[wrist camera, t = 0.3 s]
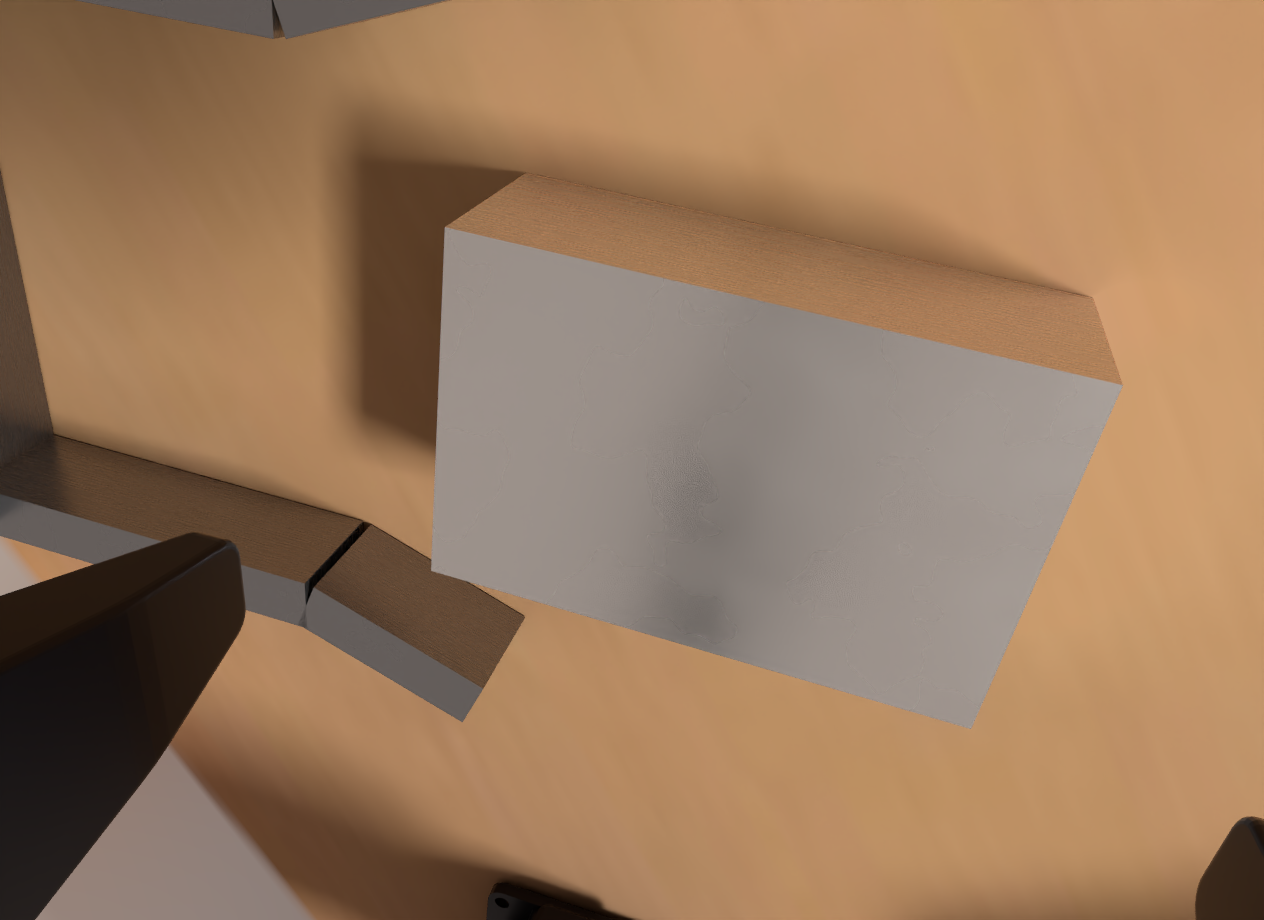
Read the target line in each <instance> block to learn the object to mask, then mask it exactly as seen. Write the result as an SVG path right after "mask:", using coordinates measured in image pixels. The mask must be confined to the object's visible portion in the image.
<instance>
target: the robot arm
mask: <svg viewBox="0 0 1264 920" xmlns="http://www.w3.org/2000/svg"><path fill="white" fill-rule="evenodd" d="M245 611H246V604H245V595H244V586H243V577H242V569H241V560H240V553H239V550H238V548H237V546H236V545H235V543H233V542H232V541H230V540H228V539H225V538H221V537H217V536H213V535H210V534H206V533H202V532H190V533H186V534H183V535H180V536H177V537H174V538H171V539H168V540H165V541H162V542H159V543H156V544H153V545H150V546H147V547H144V548H142V549H139V550H136V551H133V552H130V553H127V554H124V555H121V556H118V557H115V558H112V559H109V560H106V561H103V562H100V563H97V564H94V565H91V566H88V567H85V568H82V569H79V570H76V571H73V572H70V573H67V574H64V575H61V576H58V577H55V578H52V579H49V580H46V581H43V582H40V583H37V584H35V585H32V586H29V587H26V588H23V589H20V590H17V591H14V592H11V593H8V594H5V595H2V596H0V920H35V919H36V918H37V917H38V915H39V914H40V913H41V912H42V910H43V909H44V908H45V906H46V905H47V904H48V903H49V901H50V900H51V899H52V897H53V896H54V895H55V894H56V892H57V891H58V890H59V888H60V887H61V886H62V885H63V883H64V882H65V880H66V879H67V878H68V877H69V876H70V874H71V873H72V872H73V870H74V869H75V868H76V867H77V865H78V864H79V863H80V862H81V860H82V859H83V858H84V856H85V855H86V854H87V853H88V851H89V850H90V849H91V847H92V846H93V845H94V844H95V842H96V841H97V840H98V838H99V837H100V836H101V835H102V833H103V832H104V831H105V829H106V828H107V827H108V826H109V824H110V823H111V822H112V821H113V819H114V818H115V817H116V815H117V814H118V813H119V812H120V810H121V809H122V808H123V806H124V805H125V804H126V803H127V801H128V800H129V799H130V797H131V796H132V795H133V794H134V792H135V791H136V790H137V788H138V787H139V786H140V785H141V783H142V782H143V781H144V779H145V778H146V777H147V775H148V774H149V772H150V771H151V770H152V768H153V767H154V766H155V764H156V763H157V762H158V760H159V759H160V757H161V756H162V754H163V752H164V751H165V750H166V748H167V747H168V745H169V744H170V742H171V741H172V739H173V738H174V736H175V734H176V733H177V731H178V730H179V728H180V726H181V725H182V723H183V722H184V720H185V718H186V717H187V715H188V714H189V712H190V710H191V709H192V707H193V706H194V704H195V702H196V701H197V699H198V698H199V696H200V695H201V693H202V691H203V690H204V688H205V687H206V685H207V683H208V682H209V680H210V679H211V677H212V675H213V674H214V672H215V671H216V669H217V667H218V666H219V664H220V663H221V661H222V659H223V658H224V656H225V655H226V653H227V651H228V650H229V648H230V647H231V645H232V644H233V642H234V640H235V639H236V637H237V636H238V634H239V632H240V630H241V627H242V625H243V622H244V618H245ZM1195 915H1196V920H1264V819H1261V818H1258V817H1244V818H1242V819H1240V820H1239V821H1237V822H1236V824H1235V825H1234V826H1233V827H1232V829H1231V831H1230V832H1229V834H1228V835H1227V837H1226V839H1225V840H1224V842H1223V843H1222V845H1221V847H1220V848H1219V850H1218V852H1217V853H1216V855H1215V856H1214V858H1213V860H1212V861H1211V863H1210V865H1209V866H1208V868H1207V869H1206V871H1205V873H1204V874H1203V876H1202V878H1201V880H1200V882H1199V885H1198V888H1197V893H1196V901H1195ZM486 920H614V919H611V918H608V917H605V916H602V915H599V914H596V913H593V912H590V911H587V910H584V909H581V908H578V907H575V906H572V905H569V904H566V903H563V902H560V901H557V900H554V899H551V898H548V897H545V896H542V895H539V894H536V893H534V892H531V891H528V890H525V889H522V888H519V887H516V886H513V885H510V884H506V883H497V884H495V885H494V887H493V889H492V891H491V893H490V895H489V898H488V907H487V919H486Z"/></svg>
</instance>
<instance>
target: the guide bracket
mask: <svg viewBox="0 0 1264 920" xmlns="http://www.w3.org/2000/svg"><path fill="white" fill-rule="evenodd" d="M77 1H82V2H87V3H92V4H98V5H103V6H108V7H113V8H118V9H123V10H128V11H134V12H139V13H144V14H149V15H154V16H159V17H164V18H169V19H175V20H180V21H185V22H190V23H195V24H200V25H205V26H211V27H216V28H221V29H226V30H231V31H236V32H241V33H246V34H252V35H257V36H262V37H267V38H272V39H275V38H280V37H284V36H285V38H286V39H288V38H292V37H297V36H301V35H305V34H310V33H314V32H319V31H323V30H327V29H332V28H336V27H340V26H345V25H349V24H354V23H358V22H362V21H367V20H371V19H375V18H379V17H383V16H387V15H391V14H396V13H400V12H404V11H408V10H412V9H416V8H421V7H425V6H429V5H433V4H437V3H441V2H445V1H450V0H77ZM190 532H202V533H206V534H210V535H213V536H217V537H221V538H225V539H228V540H230V541H232V542H233V543H235V545H236V546H237V548H238V550H239V553H240V560H241V569H242V577H243V586H244V595H245V604H246V610H248V611H251V612H255V613H258V614H261V615H265V616H268V617H271V618H275V619H278V620H281V621H285V622H288V623H291V624H294V625H298V626H301V627H304V628H305V629H307V630H309V631H310V632H312V633H314V634H315V635H317V636H319V637H321V638H322V639H324V640H326V641H327V642H329V643H331V644H332V645H334V646H336V647H337V648H339V649H341V650H342V651H344V652H346V653H347V654H349V655H351V656H352V657H354V658H356V659H357V660H359V661H361V662H362V663H364V664H366V665H367V666H369V667H371V668H372V669H374V670H376V671H377V672H379V673H381V674H382V675H384V676H386V677H388V678H389V679H391V680H393V681H394V682H396V683H398V684H399V685H401V686H403V687H404V688H406V689H408V690H409V691H411V692H413V693H414V694H416V695H418V696H419V697H421V698H423V699H424V700H426V701H428V702H429V703H431V704H433V705H434V706H436V707H438V708H439V709H441V710H443V711H444V712H446V713H448V714H450V715H451V716H453V717H455V718H456V719H458V720H460V721H461V722H463V720H464V719H465V717H466V716H467V714H468V712H469V711H470V709H471V708H472V706H473V704H474V703H475V701H476V699H477V698H478V696H479V695H480V693H481V691H482V690H483V688H484V686H485V685H486V683H487V681H488V680H489V678H490V676H491V675H492V673H493V671H494V669H495V668H496V666H497V664H498V663H499V661H500V659H501V658H502V656H503V654H504V652H505V651H506V649H507V647H508V646H509V644H510V642H511V640H512V639H513V637H514V635H515V634H516V632H517V630H518V629H519V627H520V625H521V623H522V622H523V620H524V618H525V617H524V616H523V615H521V614H519V613H518V612H516V611H514V610H513V609H511V608H509V607H508V606H506V605H504V604H503V603H501V602H499V601H498V600H496V599H494V598H493V597H491V596H489V595H488V594H486V593H484V592H483V591H481V590H479V589H478V588H476V587H474V586H473V585H471V584H469V583H468V582H466V581H464V580H461V579H457V578H454V577H451V576H447V575H444V574H440V573H437V572H434V571H431V560H429V559H428V558H426V557H424V556H423V555H421V554H419V553H418V552H416V551H414V550H413V549H411V548H409V547H408V546H406V545H404V544H403V543H401V542H399V541H398V540H396V539H394V538H393V537H391V536H389V535H388V534H386V533H384V532H383V531H381V530H379V529H378V528H376V527H374V526H373V525H370V526H369V527H368V529H367V530H366V531H365V532H364V533H363V521H361V520H357V519H354V518H350V517H346V516H343V515H339V514H336V513H332V512H328V511H325V510H321V509H318V508H314V507H311V506H307V505H303V504H300V503H296V502H293V501H289V500H285V499H282V498H278V497H275V496H271V495H268V494H264V493H260V492H257V491H253V490H250V489H246V488H242V487H239V486H235V485H232V484H228V483H225V482H221V481H217V480H214V479H210V478H207V477H203V476H199V475H196V474H192V473H189V472H185V471H182V470H178V469H174V468H171V467H167V466H164V465H160V464H156V463H153V462H149V461H146V460H142V459H139V458H135V457H131V456H128V455H124V454H121V453H117V452H113V451H110V450H106V449H103V448H99V447H96V446H92V445H88V444H85V443H81V442H78V441H74V440H70V439H67V438H63V437H60V436H56V435H54V433H53V428H52V423H51V418H50V413H49V408H48V403H47V398H46V393H45V388H44V384H43V379H42V374H41V369H40V364H39V359H38V354H37V349H36V344H35V339H34V334H33V329H32V324H31V319H30V315H29V310H28V305H27V300H26V295H25V290H24V285H23V280H22V275H21V270H20V265H19V260H18V255H17V250H16V246H15V241H14V236H13V231H12V226H11V221H10V216H9V211H8V206H7V201H6V196H5V191H4V186H3V181H2V176H1V172H0V536H3V537H6V538H9V539H13V540H16V541H19V542H23V543H26V544H29V545H33V546H36V547H39V548H42V549H46V550H49V551H52V552H56V553H59V554H62V555H66V556H69V557H72V558H76V559H79V560H82V561H86V562H89V563H92V564H97V563H100V562H103V561H106V560H109V559H112V558H115V557H118V556H121V555H124V554H127V553H130V552H133V551H136V550H139V549H142V548H144V547H147V546H150V545H153V544H156V543H159V542H162V541H165V540H168V539H171V538H174V537H177V536H180V535H183V534H186V533H190Z"/></svg>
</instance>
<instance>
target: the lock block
mask: <svg viewBox="0 0 1264 920" xmlns="http://www.w3.org/2000/svg"><path fill="white" fill-rule="evenodd" d="M1122 386H1123V384H1122V381H1121V378H1120V375H1119V372H1118V369H1117V366H1116V364H1115V361H1114V358H1113V355H1112V352H1111V349H1110V346H1109V343H1108V340H1107V337H1106V334H1105V331H1104V328H1103V325H1102V323H1101V320H1100V317H1099V314H1098V311H1097V308H1096V305H1095V302H1094V299H1093V298H1091V297H1087V296H1082V295H1078V294H1073V293H1069V292H1064V291H1060V290H1055V289H1051V288H1046V287H1042V286H1037V285H1033V284H1028V283H1024V282H1019V281H1015V280H1010V279H1006V278H1001V277H996V276H992V275H987V274H983V273H978V272H974V271H969V270H965V269H960V268H956V267H951V266H947V265H942V264H938V263H933V262H929V261H924V260H920V259H915V258H910V257H906V256H901V255H897V254H892V253H888V252H883V251H879V250H874V249H870V248H865V247H861V246H856V245H852V244H847V243H843V242H838V241H834V240H829V239H824V238H820V237H815V236H811V235H806V234H802V233H797V232H793V231H788V230H784V229H779V228H775V227H770V226H766V225H761V224H757V223H752V222H748V221H743V220H739V219H734V218H729V217H725V216H720V215H716V214H711V213H707V212H702V211H698V210H693V209H689V208H684V207H680V206H675V205H671V204H666V203H662V202H657V201H653V200H648V199H643V198H639V197H634V196H630V195H625V194H621V193H616V192H612V191H607V190H603V189H598V188H594V187H589V186H585V185H580V184H576V183H571V182H567V181H562V180H558V179H553V178H548V177H544V176H539V175H535V174H530V173H525V174H523V175H522V176H520V177H519V178H517V179H516V180H514V181H513V182H511V183H510V184H509V185H507V186H506V187H504V188H503V189H501V190H500V191H498V192H497V193H495V194H494V195H492V196H491V197H489V198H488V199H486V200H485V201H483V202H482V203H480V204H479V205H477V206H476V207H474V208H473V209H471V210H470V211H468V212H467V213H465V214H464V215H462V216H461V217H459V218H458V219H456V220H455V221H453V222H452V223H450V224H449V225H447V226H446V227H445V235H444V260H443V285H442V310H441V335H440V360H439V386H438V411H437V436H436V461H435V486H434V511H433V536H432V561H431V571H434V572H437V573H440V574H444V575H447V576H451V577H454V578H457V579H461V580H464V581H468V582H471V583H475V584H478V585H481V586H485V587H488V588H492V589H495V590H498V591H502V592H505V593H509V594H512V595H515V596H519V597H522V598H526V599H529V600H533V601H536V602H539V603H543V604H546V605H550V606H553V607H556V608H560V609H563V610H567V611H570V612H573V613H577V614H580V615H584V616H587V617H591V618H594V619H597V620H601V621H604V622H608V623H611V624H614V625H618V626H621V627H625V628H628V629H631V630H635V631H638V632H642V633H645V634H649V635H652V636H655V637H659V638H662V639H666V640H669V641H672V642H676V643H679V644H683V645H686V646H689V647H693V648H696V649H700V650H703V651H707V652H710V653H713V654H717V655H720V656H724V657H727V658H730V659H734V660H737V661H741V662H744V663H748V664H751V665H754V666H758V667H761V668H765V669H768V670H771V671H775V672H778V673H782V674H785V675H788V676H792V677H795V678H799V679H802V680H806V681H809V682H812V683H816V684H819V685H823V686H826V687H829V688H833V689H836V690H840V691H843V692H846V693H850V694H853V695H857V696H860V697H864V698H867V699H870V700H874V701H877V702H881V703H884V704H887V705H891V706H894V707H898V708H901V709H904V710H908V711H911V712H915V713H918V714H922V715H925V716H928V717H932V718H935V719H939V720H942V721H945V722H949V723H952V724H956V725H959V726H962V727H966V728H969V729H971V728H972V725H973V723H974V721H975V718H976V716H977V714H978V712H979V709H980V707H981V705H982V703H983V700H984V698H985V696H986V694H987V691H988V689H989V687H990V685H991V682H992V680H993V678H994V676H995V673H996V671H997V669H998V666H999V664H1000V662H1001V660H1002V657H1003V655H1004V653H1005V651H1006V648H1007V646H1008V644H1009V642H1010V639H1011V637H1012V635H1013V633H1014V630H1015V628H1016V626H1017V624H1018V621H1019V619H1020V617H1021V615H1022V612H1023V610H1024V608H1025V605H1026V603H1027V601H1028V599H1029V596H1030V594H1031V592H1032V590H1033V587H1034V585H1035V583H1036V581H1037V578H1038V576H1039V574H1040V572H1041V569H1042V567H1043V565H1044V563H1045V560H1046V558H1047V556H1048V553H1049V551H1050V549H1051V547H1052V544H1053V542H1054V540H1055V538H1056V535H1057V533H1058V531H1059V529H1060V526H1061V524H1062V522H1063V520H1064V517H1065V515H1066V513H1067V511H1068V508H1069V506H1070V504H1071V502H1072V499H1073V497H1074V495H1075V492H1076V490H1077V488H1078V486H1079V483H1080V481H1081V479H1082V477H1083V474H1084V472H1085V470H1086V468H1087V465H1088V463H1089V461H1090V459H1091V456H1092V454H1093V452H1094V450H1095V447H1096V445H1097V443H1098V440H1099V438H1100V436H1101V434H1102V431H1103V429H1104V427H1105V425H1106V422H1107V420H1108V418H1109V416H1110V413H1111V411H1112V409H1113V407H1114V404H1115V402H1116V400H1117V398H1118V395H1119V393H1120V391H1121V389H1122Z"/></svg>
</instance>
